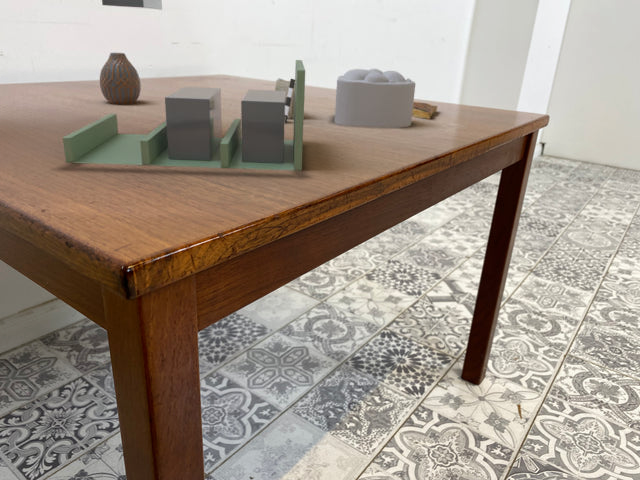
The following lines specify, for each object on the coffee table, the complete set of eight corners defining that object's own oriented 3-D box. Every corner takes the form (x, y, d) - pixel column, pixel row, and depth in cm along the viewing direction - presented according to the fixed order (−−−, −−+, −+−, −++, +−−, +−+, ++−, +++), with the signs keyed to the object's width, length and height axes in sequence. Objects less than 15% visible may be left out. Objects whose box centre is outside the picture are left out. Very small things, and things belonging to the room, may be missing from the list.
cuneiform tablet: (285, 124, 84) (258, 111, 94) (309, 128, 86) (280, 115, 96) (294, 79, 82) (266, 71, 92) (319, 85, 84) (288, 76, 94)
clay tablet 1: (168, 159, 56) (164, 97, 53) (185, 140, 65) (183, 86, 63) (210, 160, 56) (209, 99, 54) (222, 141, 65) (220, 88, 63)
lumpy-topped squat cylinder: (336, 116, 94) (339, 66, 91) (408, 120, 94) (413, 70, 91) (333, 126, 85) (336, 70, 82) (413, 131, 84) (420, 75, 81)
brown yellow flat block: (429, 120, 95) (430, 110, 94) (388, 116, 97) (389, 106, 96) (438, 113, 104) (439, 104, 103) (400, 109, 106) (401, 100, 106)
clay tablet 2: (241, 162, 56) (241, 100, 54) (248, 142, 66) (248, 89, 63) (283, 163, 57) (284, 102, 54) (284, 144, 66) (285, 91, 63)
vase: (127, 100, 100) (122, 51, 97) (149, 104, 96) (146, 54, 93) (94, 102, 95) (88, 51, 91) (117, 107, 91) (111, 54, 88)
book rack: (66, 171, 53) (51, 58, 49) (112, 141, 67) (103, 50, 63) (301, 179, 55) (305, 70, 51) (299, 148, 69) (302, 60, 64)
